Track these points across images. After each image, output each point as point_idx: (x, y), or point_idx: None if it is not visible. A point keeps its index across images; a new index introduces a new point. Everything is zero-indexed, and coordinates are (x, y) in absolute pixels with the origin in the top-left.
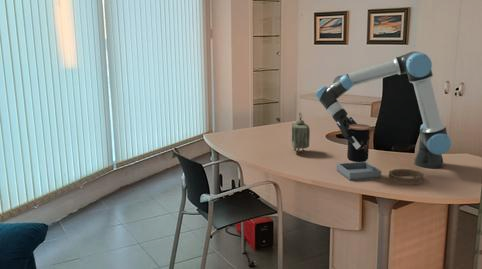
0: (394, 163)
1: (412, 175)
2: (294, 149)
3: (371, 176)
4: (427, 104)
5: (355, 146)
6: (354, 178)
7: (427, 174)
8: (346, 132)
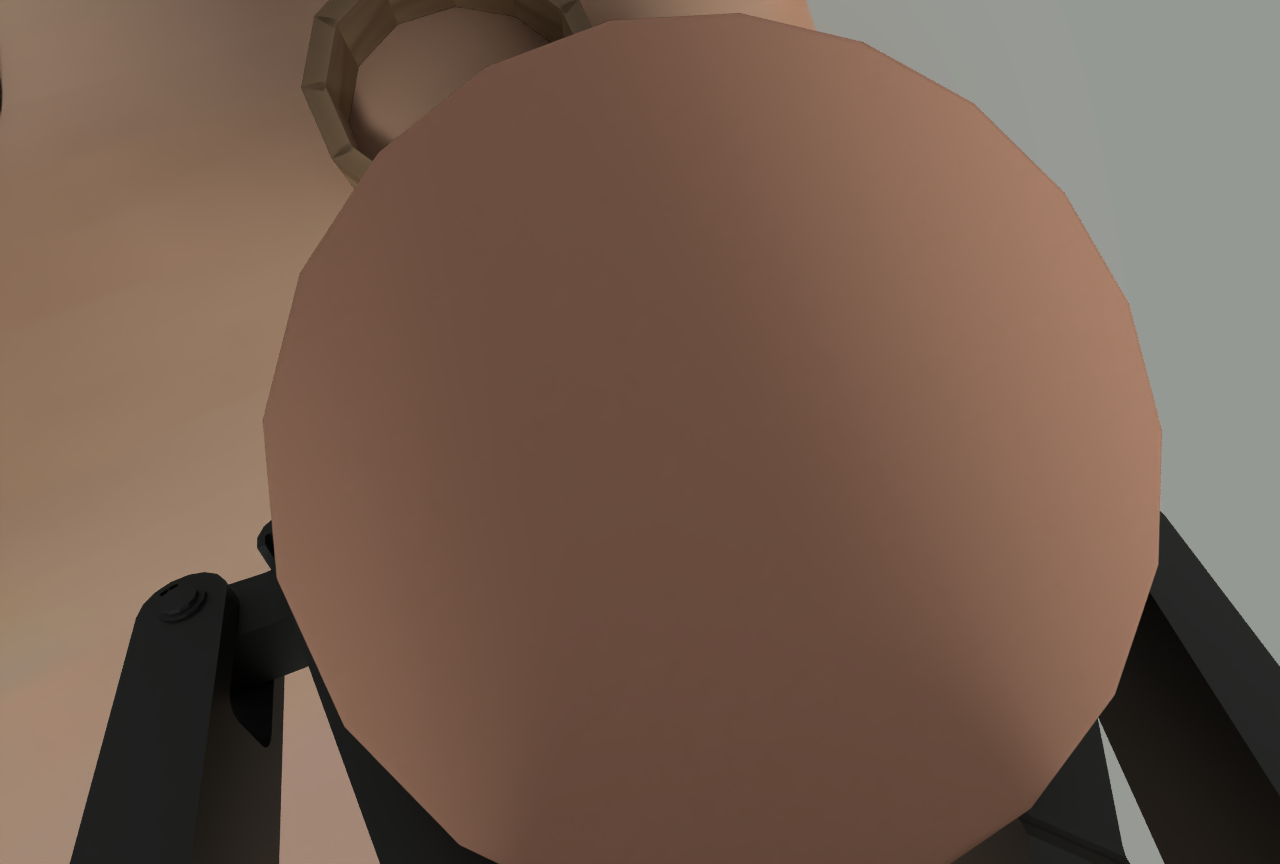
0: (34, 375)
1: (350, 92)
2: None
3: None
4: None
5: None
6: None
7: (212, 20)
8: (1210, 586)
